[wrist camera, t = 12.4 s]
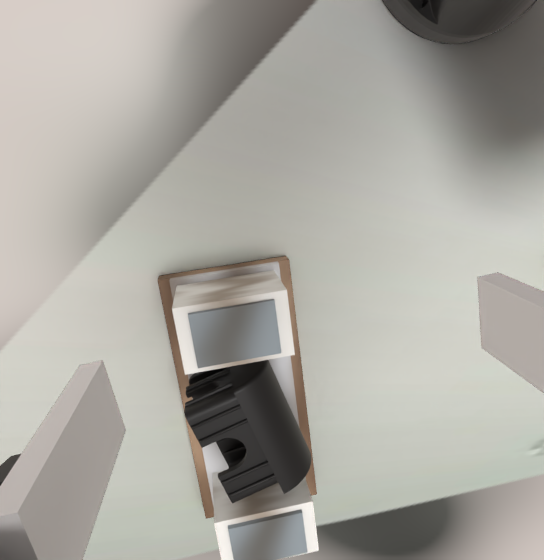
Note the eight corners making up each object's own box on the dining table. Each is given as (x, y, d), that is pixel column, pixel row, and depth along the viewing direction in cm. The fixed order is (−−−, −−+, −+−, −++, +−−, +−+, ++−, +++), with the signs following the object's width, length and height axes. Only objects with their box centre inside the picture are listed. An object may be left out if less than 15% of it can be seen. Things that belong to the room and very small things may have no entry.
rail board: (285, 256, 39) (308, 281, 31) (313, 483, 46) (337, 555, 37) (159, 275, 38) (147, 307, 30) (205, 507, 45) (206, 586, 36)
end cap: (302, 429, 41) (320, 479, 35) (231, 461, 41) (237, 517, 35) (260, 338, 38) (272, 373, 32) (184, 372, 38) (180, 414, 32)
